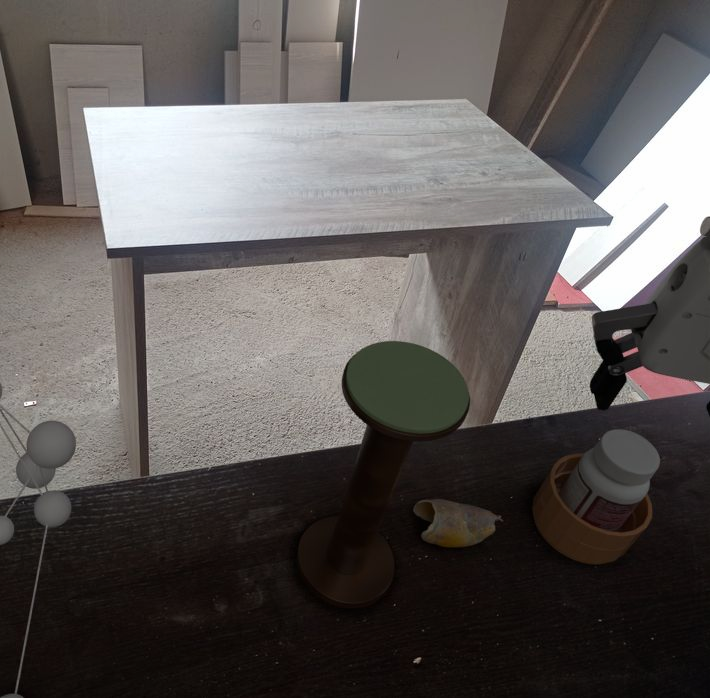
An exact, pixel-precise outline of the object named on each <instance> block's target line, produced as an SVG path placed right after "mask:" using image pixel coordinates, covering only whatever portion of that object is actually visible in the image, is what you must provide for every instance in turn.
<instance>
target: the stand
mask: <svg viewBox="0 0 710 698" xmlns="http://www.w3.org/2000/svg"><path fill="white" fill-rule="evenodd" d="M354 355H355V354H353V355H352V356H351V357H350V358H349V359H348V361H347V362H346V364H345V366H344V368H343V372H342V375H341V391H342V395H343V397H344V400H345V402H346V404H347V406H348V407H349V409H350V410H351V411H352V412H353V413H354V415H355V416H356V417H358V419H360V421H362V422H363V423H364V424H366V427H365V429H364V433H363V436H362V439H361V443H360V446H359V449H358V452H357V455H356V459H355V462H354V465H353V468H352V471H351V474H350V477H349V480H348V485H347V487H346V491H345V494H344V497H343V499H342V503H341V507H340V510H339V513H338V515H333V516H327V517H324V518H321V519H318V520H317V521H315V522H313V523H312V524H311V525H310V526H308V527H307V529H306V530H305V531H304V532H303V534H302V535H301V537H300V540H299V543H298V547H297V551H296V566H297V569H298V573H299V576H300V578H301V580H302V582H303V583H304V584H305V586H306V587H307V589H308V590H309V591H310V592H311V593H312V594H313V595H314V596H315V597H317V598H319V600H321V601H323V602H325V603H327V604H329V605H330V606H334V607H338V608H341V609H342V608H343V609H362V608H365V607H369V606H371V605H373V604H374V603H376V602H378V601H379V600H380V599H381V598H382V597H383V596H385V594H386V593H387V592H388V590H389V587H390V586H391V583H392V582H393V580H394V579H393V578H394V575H395V568H396V567H395V558H394V554H393V551H392V548H391V546H390V545H389V543H388V541H387V539H385V537H384V536H383V535H382V534H381V533H380V532H379V530H380V528H381V525H382V523H383V519H384V518H385V515H386V512H387V510H388V507H389V505H390V503H391V499H392V497H393V494H394V491H395V489H396V487H397V485H398V482H399V479H400V476H401V474H402V471H403V468H404V466H405V464H406V462H407V458H408V456H409V453H410V451H411V448H412V445H413V443H414V442H419V443H421V442H422V443H423V442H432V441H437V440H440V439H443V438H446V437H448V436H450V435H452V434H453V433H455V432H456V431H457V430H458V429H459V428H460V427H461V426H462V425H463V423H464V422H465V420H466V418H467V416H468V413H469V411H470V407H471V396H470V395H469V402H468V406H467V408H466V411H465V413H464V415H463V416H462V417H461V419H460V420H459V421H458V422H457V423H455V424H454V425H452V426H451V427H449V428H447V429H445V430H442V431H438V432H433V433H424V434H420V433H409V432H403V431H399V430H396V429H393V428H390V427H387V426H385V425H383V424H381V423H379V422H377V421H375V420H374V419H372V418H371V417H369V416H368V415H367V414H366V413H364V412H363V411H362V410H361V409H360V408H359V407H358V406H357V404H356V403H355V402H354V400H353V399H352V397H351V395H350V393H349V391H348V388H347V384H346V372H347V367H348V365H349V362H350V360H351V359H352V357H353V356H354ZM468 392H469V390H468ZM469 393H470V392H469Z"/></svg>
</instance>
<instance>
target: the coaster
mask: <svg viewBox="0 0 710 698" xmlns="http://www.w3.org/2000/svg"><path fill="white" fill-rule="evenodd" d="M353 355H354V356H353ZM353 355H352V356H353V357H352V356H351V357H352V359H351V360H350V359H349V360H350V362H349V365H348V367H347V372H346V384H347V388H348V391H349V393H350V395H351V397H352V399H353V400H354V402H355V403H356V404H357V406H358V407H359V408H360V409H361V410H362V411H363V412H364V413H366V414H367V415H368V416H369V417H371V418H372V419H374V420H375V421H377V422H379V423H381V424H383V425H385V426H387V427H390V428H393V429H396V430H399V431H403V432H409V433H420V434H424V433H433V432H438V431H442V430H445V429H447V428H449V427H451V426H452V425H454V424H455V423H457V422H458V421H459V420H460V419H461V417H462V416H463V415H464V413H465V411H466V408H467V406H468V402H469V396H470V392H468V391H469V388H468V385H467V382H466V380H465V377H464V375H463V374H462V373H461V372H460V370H459V369H458V367H456V366H455V365H454V364H453V363H452V362H451V361H450V360H449V359H448V358H446V357H445V356H443V355H441V354H440V353H438V352H437V351H435V350H433V349H430V348H428V347H426V346H423V345H420V344H417V343H414V342H408V341H400V340H385V341H379V342H375V343H370V344H369V345H366V346H364V347H363V348H361V349H360V350H358V351H357V352H356V353H355V354H353Z"/></svg>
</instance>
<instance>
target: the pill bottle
mask: <svg viewBox="0 0 710 698" xmlns="http://www.w3.org/2000/svg"><path fill="white" fill-rule="evenodd" d="M583 454H584V455H583V456H582V457H581V459H580V461H579V462H578V464H577V465H576V467H575V468H574V470H573V472H572V473H571V475H570V476H569V478H568V479H567V481H566V482H565V484H564V485H563V487H562V488H561V490H560V491H559V493H558V495H559V496H560V498H561V499H562V501H563V502H564V504H565V505H566V506H567V507H568V508H569V509H570V510H571V511H572V512H573V513H574V514H575V515H576V516H577V517H579V518H580V519H582V520H584V521H585V522H587V523H589V524H590V525H592V526H595V527H598V528H600V529H603V530H606V531H612V532H617V531H618V530H619V528H620V527H621V526H622V524H623V523H624V522H625V521H626V519H627V518H628V517H629V515H630V514H631V513H632V512H633V511H634V509H635V508H636V507H637V505H638V504H639V503H640V502H641V501H642V499H643V498H644V497H645V495H646V494H648V492H649V490H650V486H651V481H650V480H651V479H652V478H653V476H654V474H655V473H656V472H657V470H658V469H659V468H660V466H661V465H660V464H661V459H660V455H659V451H657V448H656V447H654V445H653V444H652V443H651V442H650V441H649V440H648V439H646V438H645V437H643V436H642V435H640V434H638V433H636V432H633V431H631V430H628V429H621V428H620V429H619V428H615V429H610V430H608V431H606V432H605V433H603V434H602V435H601V437H600V438H599V440H598V442H596V443H595V445H594V447H591V448H590V449H588V450H587V451H586V452H584V453H583Z"/></svg>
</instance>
